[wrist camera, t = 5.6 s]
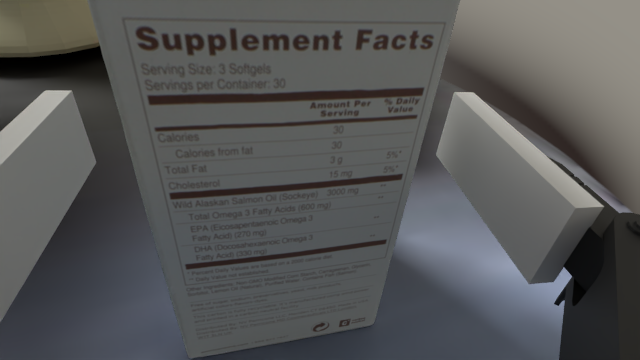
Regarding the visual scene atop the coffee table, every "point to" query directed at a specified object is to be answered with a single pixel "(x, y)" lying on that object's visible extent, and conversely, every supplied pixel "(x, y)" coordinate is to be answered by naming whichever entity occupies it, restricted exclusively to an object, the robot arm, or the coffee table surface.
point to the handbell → (45, 27)
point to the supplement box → (273, 152)
